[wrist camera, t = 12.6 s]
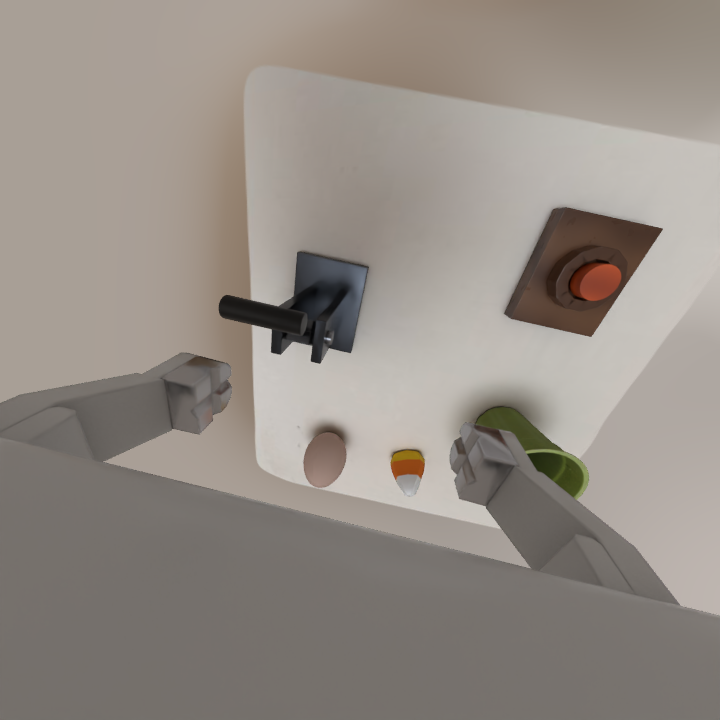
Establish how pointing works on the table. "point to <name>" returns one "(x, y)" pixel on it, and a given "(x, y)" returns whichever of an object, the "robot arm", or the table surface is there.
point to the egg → (324, 459)
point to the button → (595, 281)
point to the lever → (269, 318)
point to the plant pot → (540, 450)
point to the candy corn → (408, 470)
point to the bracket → (325, 303)
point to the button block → (565, 256)
